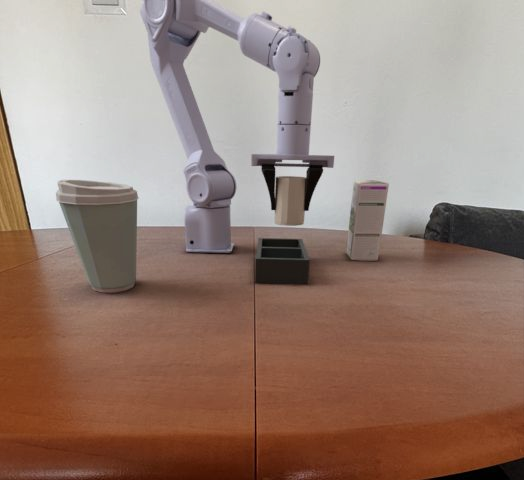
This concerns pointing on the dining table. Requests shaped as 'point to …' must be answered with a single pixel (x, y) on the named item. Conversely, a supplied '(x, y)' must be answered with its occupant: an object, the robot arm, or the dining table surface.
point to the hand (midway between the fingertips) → (289, 209)
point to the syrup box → (366, 219)
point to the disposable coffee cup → (102, 230)
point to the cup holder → (281, 261)
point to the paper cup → (290, 200)
